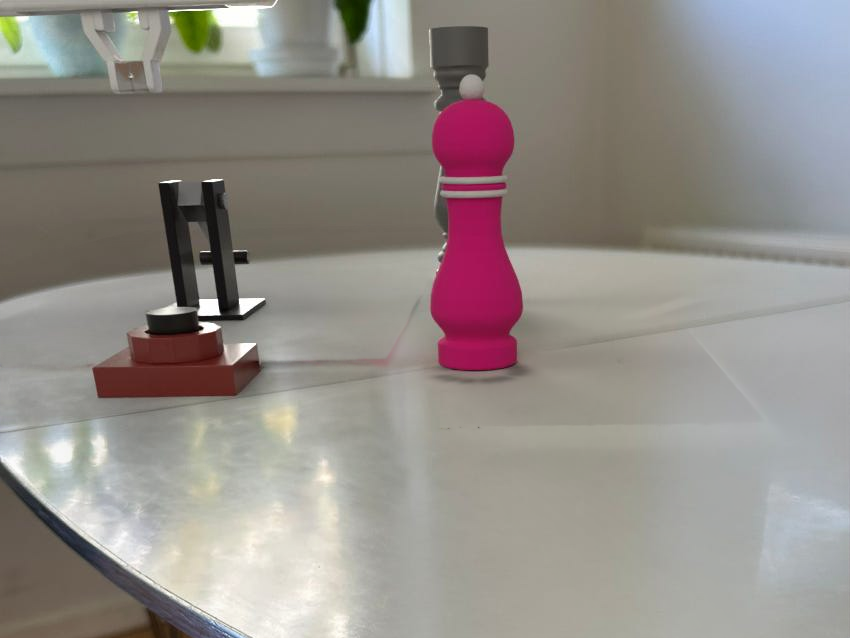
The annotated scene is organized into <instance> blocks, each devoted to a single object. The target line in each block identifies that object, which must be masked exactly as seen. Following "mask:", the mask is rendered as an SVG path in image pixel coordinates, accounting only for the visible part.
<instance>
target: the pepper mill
mask: <svg viewBox="0 0 850 638" xmlns="http://www.w3.org/2000/svg"><path fill="white" fill-rule="evenodd" d="M459 91H460V94H461V96H462V98H463V99H464V100H462V101H458V102H455V103H453V104H451V105H449V106H448V107H446V108H445V109H444V110H443V111H442V112H441V113H440V112H439V114H438V115H437V117H436V119H435V121H434V124H433V126H432V130H431V150H432V153H433V156H434V157H435V159H436V160H437V162H438V163H439V165H441V166H442V167H443V169H444V172H445V176H442V177H441V178H440V182H441V183H442V184H443V185H442V187H441V188H442V191H441V192H440V195H441V196H442V197H446V202H447V209H448V216H449V222H448V239H447V245H446V250H445V253H444V256H443V259H442V262H441V263H440V264H439V267H438V269H439V270H438V272H437V275H436V274H435V277H434V280H433V283H432V287H431V292H430V304H429V305H430V306H429V310H430V316H431V318H432V319H433V321H434V323H436V324H437V326H438V327H439V328H440V329H441V330H442V332H443V333H444V336H443V337H441V338H439V340H438V341H437V355H438V357H437V359H438V363H439V365H440V366H441V367H443V368H447V369H450V370H455V371H490V370H491V371H493V370H499V369H504V368H505V369H506V368H508V367H511V366H513V365H515V364H516V362H517V361H518V340H517V338H516V337H514V336H513V335H510V333H511V331H512V330H513V328H514V327H515V325H516V324H517V322H518V321H519V320H520V318H521V316H522V315H523V311H524V303H523V301H524V300H523V292H522V288H521V285H520V281H519V278H518V276H517V273H516V271H515V269H514V267H513V264H512V261H511V260H510V257H509V255H508V252H507V249H506V247H505V242H504V237H503V234H502V217H501V216H502V206H503V197H505V196H507V195H508V194H509V190H508V189H507V183H506V182H508V181H509V180H508V179H509V178H508V175H506V174H503V171H504V168H505V166H506V164H507V163H508V161H510V158H511V157H512V155H513V154H514V150H515V134H514V128H513V124H512V122H511V121H512V120H510V118H509V116H508V114H507V113H506V111H504V110H503V109H502V108H501V107H500V106H499V105H497V104H495V103H493V102H491V101H487V100H486V101H484V100H480V99H481V97H484V96H483V95H484V93H485V84H484V80H483V81H482V80H481V78H480V77H478V76H477V75H474V74H470V75H467V76H465V77H464V78H463V79H462V81H461V83H460V87H459Z"/></svg>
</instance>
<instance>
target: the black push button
mask: <svg viewBox="0 0 850 638" xmlns="http://www.w3.org/2000/svg"><path fill="white" fill-rule="evenodd" d="M166 307H167V306H166ZM166 307H159V308H158V307H157V308H153V309H149V310H147V311H145V317H146V323H147V324H146V325H147V326H148V330H149V334H151V335H177V334H186V333H193V332H197V331H200V328H199V322H200V321H198V314H197V309H196V308H192V307H167V308H166Z"/></svg>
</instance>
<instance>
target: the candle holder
mask: <svg viewBox="0 0 850 638" xmlns="http://www.w3.org/2000/svg"><path fill="white" fill-rule="evenodd" d="M428 40H429V63H430V64H429V67H430V69H432V71H433V78H434V80H435V81H436V84H437V88H438V89H439V90H440V95H439V96H438V98H436V99H435V101H434V102H433V105H434V106H433V107H434V110H436V112H439V114H440V113H441V112H442V111H443V110H444V109H445V108H446V107H448V106H449V105H451V104H453V103H455V102H458V101H462V100H464V99H463V98H462V96H461V94H460V91H459V87H460V83H461V81H462V79H463V78H464V77H465V76H467V75H470V74H474V75H477V76H478V77H480V78H481V80H482V81H483V82H484V80H485V79H486V77H487V72H486V70H487V68H489V65H490V64H489V27H487V26H486V27H485V26H478V25H477V26H475V25H473V26H472V25H464V26H463V25H462V26H461V25H459V26H458V25H457V26H456V25H455V26H439V27H432V28H429V29H428ZM480 100H484V101H487V100H486V99H485V97H484V96H482V97H481V99H480ZM439 165H440V164H439ZM442 176H445V172H444V169H443V167H442V166H441V165H440V166H439V171H438V177H437V182H436V183H437V184H436V191H435V195H434V202H433V214H434V217H435V220H436V222H437V224H438V226H439V227H440V229H442V230H443V233H442V237H443V238H445V243H444V244H443V245H442V248H441V251H440V252H439V253H438V254H437V261H438V262H439V263H440V264H441V262H442V259H443V256H444V253H445V250H446V245H447V239H448V222H449V216H448V209H447V202H446V197H442V196H441V195H440V192H441V191H442V188H441V187H442V185H443V184H442V183H441V182H440V178H441V177H442ZM438 270H439V268H437V270H436V271H435V276H436V275H437V272H438Z"/></svg>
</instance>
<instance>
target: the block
mask: <svg viewBox="0 0 850 638" xmlns="http://www.w3.org/2000/svg"><path fill="white" fill-rule="evenodd" d="M199 328H200V331H197V332H193V333H186V334H177V335H151V334H149V330H148V325H145V326H139V327H136V328H135V327H134V328H133V329H131V330H129V331H127V332H126V337H127V338H126V339H127V344H128V346H127V347H125V348H124V349H121V350H120V351H119V352H117V353H115V354H113V355H111V356H110V357H108V358H106V359H105V360H103V361H102V362H99V363H98V364H96V365H94V366H93V367H92V368H91V369H92V374H93V375H92V376H93V380H94V384H95V389H96V395H97V398H98V399H125V398H128V399H129V398H130V399H133V398H135V399H137V398H184V397H185V398H188V397H189V398H190V397H191V398H193V397H236V396H237V395H238V394H240V393H241V391H242V390H244V388H246V387H247V385H248V384H250V382H252V380H254V378H255V377H256V376H258V375H259V374H260V373H261V366H260V355H259V349H258V343H256V342H255V343H254V342H253V343H252V342H251V343H247V342H246V343H224V339H223V338H224V337H223V330H222V326H221V325H218V324H216V323H214V322H206V321H199Z"/></svg>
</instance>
